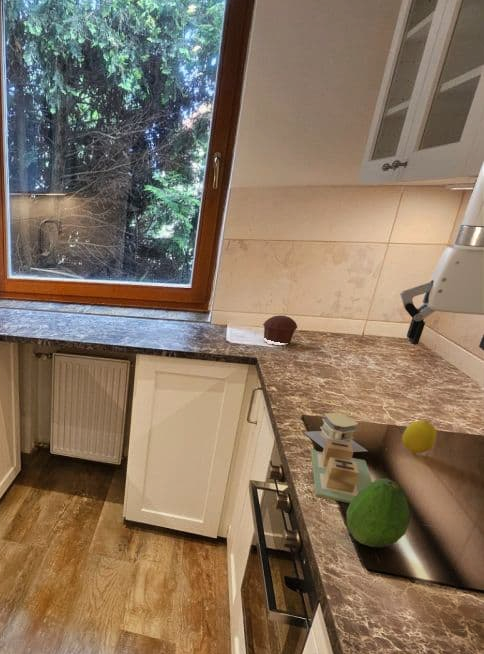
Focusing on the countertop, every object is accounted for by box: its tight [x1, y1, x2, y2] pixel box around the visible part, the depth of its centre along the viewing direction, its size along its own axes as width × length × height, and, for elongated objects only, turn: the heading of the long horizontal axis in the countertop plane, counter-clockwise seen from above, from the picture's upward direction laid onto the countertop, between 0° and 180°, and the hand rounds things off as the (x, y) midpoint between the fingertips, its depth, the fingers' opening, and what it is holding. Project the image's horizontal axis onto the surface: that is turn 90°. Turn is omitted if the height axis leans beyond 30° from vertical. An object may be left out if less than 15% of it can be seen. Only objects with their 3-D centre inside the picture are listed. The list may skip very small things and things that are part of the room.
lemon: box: [401, 419, 438, 455], centre depth 101 cm, size 6×6×8 cm
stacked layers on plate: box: [302, 412, 368, 453], centre depth 107 cm, size 10×9×6 cm
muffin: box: [262, 315, 298, 344], centre depth 176 cm, size 12×11×10 cm
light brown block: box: [324, 457, 359, 493], centre depth 90 cm, size 4×4×5 cm
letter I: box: [322, 438, 354, 467], centre depth 97 cm, size 4×4×4 cm
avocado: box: [346, 477, 411, 548], centre depth 74 cm, size 8×8×12 cm
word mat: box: [310, 449, 373, 504], centre depth 94 cm, size 10×18×1 cm, turn 154°
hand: (447, 346), depth 79 cm, fingers open, 9 cm apart
